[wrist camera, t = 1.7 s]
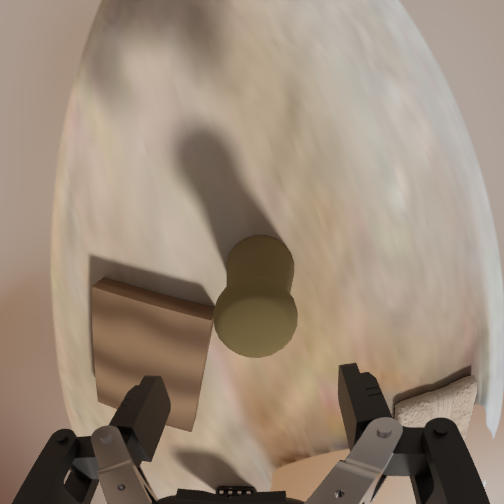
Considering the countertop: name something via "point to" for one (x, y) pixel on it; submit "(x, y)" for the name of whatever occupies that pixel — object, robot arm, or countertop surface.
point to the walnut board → (149, 345)
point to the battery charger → (234, 491)
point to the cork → (257, 298)
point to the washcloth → (440, 405)
